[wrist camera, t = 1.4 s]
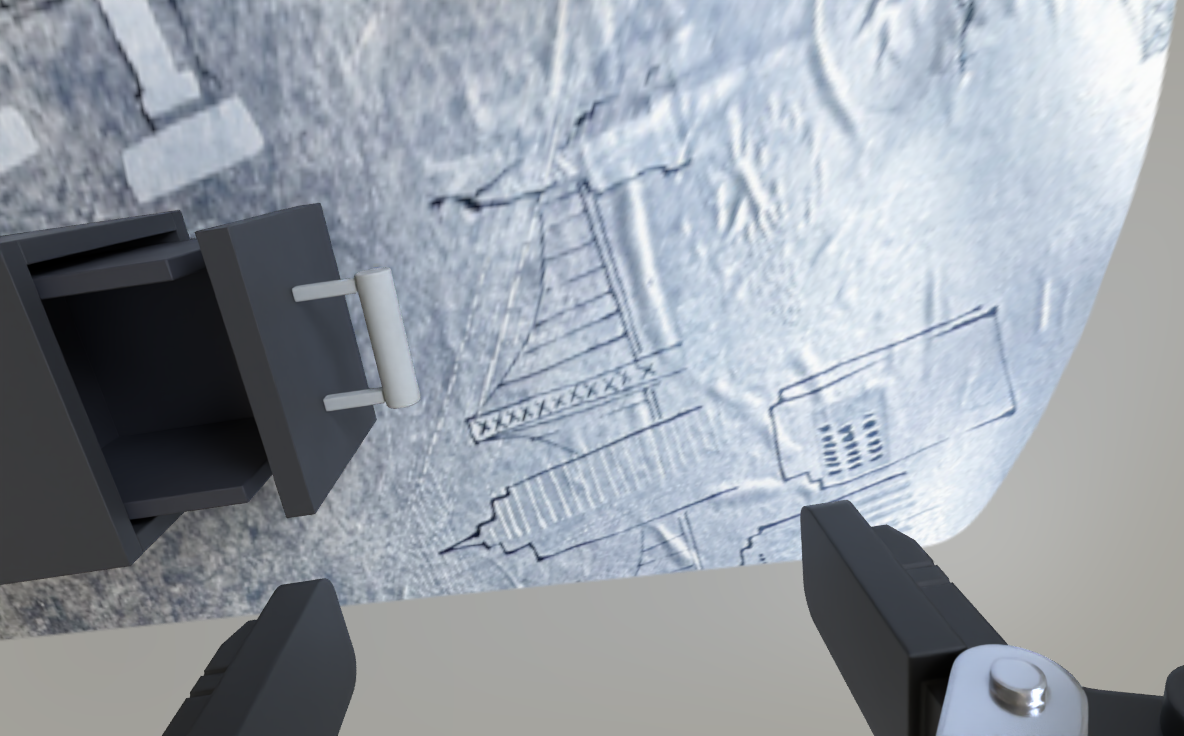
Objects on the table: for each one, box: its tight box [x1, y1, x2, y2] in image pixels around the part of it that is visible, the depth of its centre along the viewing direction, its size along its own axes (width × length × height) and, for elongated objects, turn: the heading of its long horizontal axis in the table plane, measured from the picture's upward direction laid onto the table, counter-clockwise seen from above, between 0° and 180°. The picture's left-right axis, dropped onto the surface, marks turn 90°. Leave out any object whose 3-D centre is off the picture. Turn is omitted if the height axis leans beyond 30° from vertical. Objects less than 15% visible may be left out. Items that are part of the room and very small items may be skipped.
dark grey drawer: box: [27, 203, 421, 520], centre depth 31 cm, size 18×12×10 cm, turn 98°
